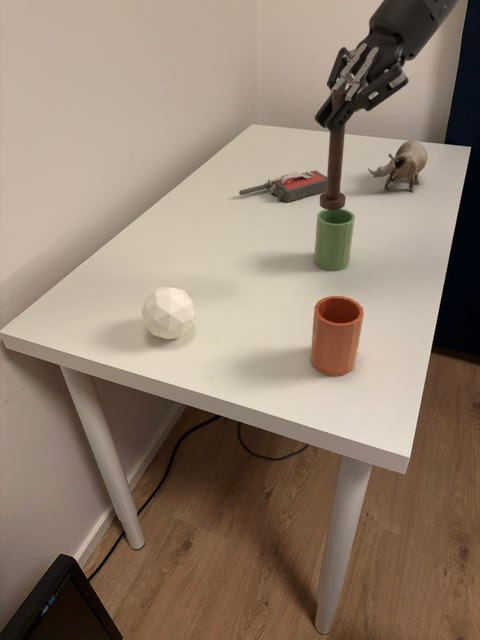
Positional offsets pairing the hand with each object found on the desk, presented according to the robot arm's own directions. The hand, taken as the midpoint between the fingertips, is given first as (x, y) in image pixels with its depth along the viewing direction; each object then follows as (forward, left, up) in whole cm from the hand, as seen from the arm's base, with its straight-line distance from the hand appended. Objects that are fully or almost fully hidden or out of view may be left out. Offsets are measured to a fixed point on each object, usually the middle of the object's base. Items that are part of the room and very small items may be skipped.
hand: (324, 126), depth 65 cm
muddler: (-1, -2, -12) cm, 12 cm away
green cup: (0, -9, -26) cm, 28 cm away
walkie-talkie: (+19, -31, -27) cm, 45 cm away
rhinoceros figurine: (-3, -45, -27) cm, 52 cm away
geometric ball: (+15, +20, -27) cm, 37 cm away
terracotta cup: (-9, +15, -26) cm, 32 cm away
